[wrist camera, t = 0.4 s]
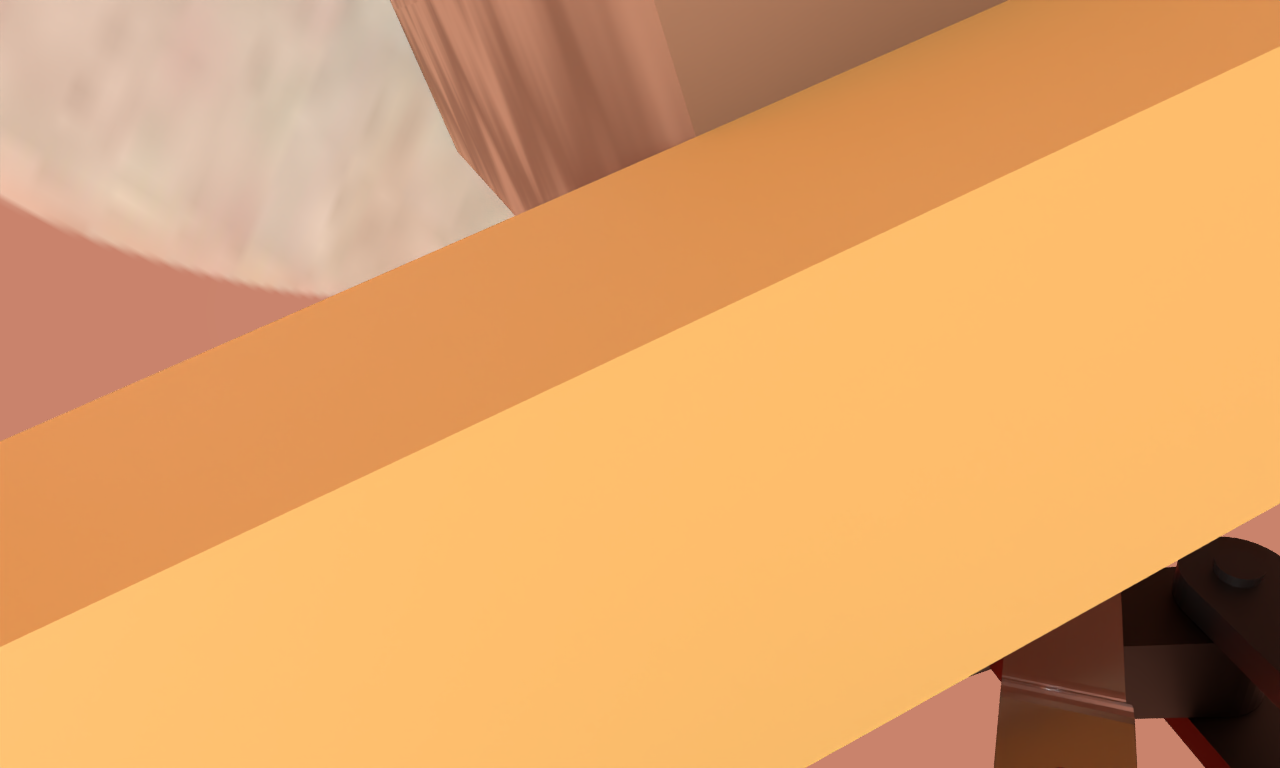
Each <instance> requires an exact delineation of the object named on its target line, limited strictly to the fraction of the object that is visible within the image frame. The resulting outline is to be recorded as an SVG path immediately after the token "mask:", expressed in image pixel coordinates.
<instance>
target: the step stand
mask: <svg viewBox="0 0 1280 768" xmlns="http://www.w3.org/2000/svg"><path fill="white" fill-rule="evenodd" d="M390 1H391V3H392V6H393V8H394V10H395V12H396V15H397V17H398V19H399V21H400V24H401V26H402V28H403V30H404V33H405V35H406V37H407V39H408V42H409V44H410V46H411V48H412V51H413V53H414V55H415V57H416V60H417V62H418V64H419V66H420V69H421V71H422V73H423V75H424V77H425V80H426V82H427V84H428V86H429V89H430V91H431V93H432V95H433V98H434V100H435V102H436V104H437V107H438V109H439V111H440V113H441V116H442V118H443V120H444V122H445V125H446V127H447V129H448V131H449V134H450V136H451V138H452V140H453V143H454V145H455V147H456V149H457V151H458V153H459V154H460V155H461V156H462V157H463V158H464V159H465V160H466V161H467V163H468V164H469V165H470V166H471V167H472V168H473V169H474V170H475V171H476V173H477V174H478V175H479V176H480V177H481V178H482V179H483V180H484V181H485V183H486V184H487V185H488V186H489V187H490V188H491V189H492V190H493V191H494V193H495V194H496V195H497V196H498V197H499V198H500V199H501V200H502V201H503V203H504V204H505V205H506V206H507V207H508V208H509V209H510V210H511V211H512V213H513V214H514V215H515V216H516V215H519V214H521V213H523V212H526V211H528V210H530V209H532V208H535V207H537V206H539V205H542V204H544V203H546V202H548V201H551V200H553V199H555V198H558V197H560V196H562V195H564V194H567V193H569V192H571V191H574V190H576V189H578V188H580V187H583V186H585V185H587V184H590V183H592V182H594V181H596V180H599V179H601V178H603V177H606V176H608V175H610V174H612V173H615V172H617V171H619V170H622V169H624V168H626V167H628V166H631V165H633V164H635V163H638V162H640V161H642V160H644V159H647V158H649V157H651V156H654V155H656V154H658V153H660V152H663V151H665V150H667V149H670V148H672V147H674V146H676V145H679V144H681V143H683V142H686V141H688V140H690V139H692V138H695V137H697V136H699V135H702V134H704V133H706V132H708V131H711V130H713V129H715V128H718V127H720V126H722V125H724V124H727V123H729V122H731V121H734V120H736V119H738V118H740V117H743V116H745V115H747V114H750V113H752V112H754V111H756V110H759V109H761V108H763V107H766V106H768V105H770V104H772V103H775V102H777V101H779V100H782V99H784V98H786V97H788V96H791V95H793V94H795V93H798V92H800V91H802V90H804V89H807V88H809V87H811V86H814V85H816V84H818V83H820V82H823V81H825V80H827V79H830V78H832V77H834V76H836V75H839V74H841V73H843V72H846V71H848V70H850V69H852V68H855V67H857V66H859V65H862V64H864V63H866V62H868V61H871V60H873V59H875V58H878V57H880V56H882V55H884V54H887V53H889V52H891V51H894V50H896V49H898V48H900V47H903V46H905V45H907V44H910V43H912V42H914V41H916V40H919V39H921V38H923V37H926V36H928V35H930V34H932V33H935V32H937V31H939V30H942V29H944V28H946V27H948V26H951V25H953V24H955V23H958V22H960V21H962V20H964V19H967V18H969V17H971V16H974V15H976V14H978V13H980V12H983V11H985V10H987V9H990V8H992V7H994V6H996V5H999V4H1001V3H1003V2H1006V1H1008V0H390Z"/></svg>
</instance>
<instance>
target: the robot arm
mask: <svg viewBox="0 0 1280 768" xmlns="http://www.w3.org/2000/svg"><path fill="white" fill-rule="evenodd" d="M989 669H991V670H992V671H993V672H994V673H995V675H996V676H997V677H998V679H999V680H1000V681H1001V692H1000V704H999V715H998V726H997V738H996V749H995V761H994V768H1137V756H1136V736H1135V719H1143V718H1144V719H1145V718H1164V719H1165V720H1166V721H1167V722H1168V724H1169V725H1170V726H1171V727H1172V729H1173V730H1174V731H1175V732H1176V733H1177V734H1178V736H1179V737H1180V738H1181V739H1182V740H1183V742H1184V743H1185V744H1186V745H1187V746H1188V747H1189V749H1190V750H1191V751H1192V752H1193V754H1194V755H1195V756H1196V757H1197V758H1198V759H1199V761H1200V762H1201V763H1202V764H1203V766H1204V767H1205V768H1280V556H1279V555H1278V554H1276V553H1274V552H1273V551H1271V550H1269V549H1267V548H1265V547H1263V546H1261V545H1258V544H1256V543H1253V542H1250V541H1247V540H1242V539H1238V538H1230V537H1218V538H1217V539H1215V540H1213V541H1211V542H1210V543H1208V544H1206V545H1204V546H1202V547H1201V548H1199V549H1197V550H1195V551H1193V552H1192V553H1190V554H1188V555H1186V556H1184V557H1183V558H1181V559H1179V560H1178V562H1177V566H1176V567H1165V568H1163V569H1161V570H1159V571H1157V572H1156V573H1154V574H1152V575H1150V576H1148V577H1147V578H1145V579H1143V580H1141V581H1140V582H1138V583H1136V584H1134V585H1132V586H1131V587H1129V588H1127V589H1125V590H1123V591H1122V592H1120V593H1118V594H1116V595H1114V596H1113V597H1111V598H1109V599H1107V600H1105V601H1104V602H1102V603H1100V604H1098V605H1096V606H1095V607H1093V608H1091V609H1089V610H1087V611H1086V612H1084V613H1082V614H1080V615H1079V616H1077V617H1075V618H1073V619H1071V620H1070V621H1068V622H1066V623H1064V624H1062V625H1061V626H1059V627H1057V628H1055V629H1053V630H1052V631H1050V632H1048V633H1046V634H1044V635H1043V636H1041V637H1039V638H1037V639H1035V640H1034V641H1032V642H1030V643H1028V644H1026V645H1025V646H1023V647H1021V648H1019V649H1018V650H1016V651H1014V652H1012V653H1010V654H1009V655H1007V656H1005V657H1003V658H1001V659H1000V660H998V661H996V662H994V663H992V664H991V665H989V666H987V667H985V668H983V669H982V670H980V671H978V672H976V673H974V674H973V675H975V674H978V673H981V672H984V671H987V670H989ZM971 676H972V675H971ZM969 677H970V676H969Z"/></svg>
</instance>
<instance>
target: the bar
mask: <svg viewBox="0 0 1280 768" xmlns="http://www.w3.org/2000/svg"><path fill="white" fill-rule="evenodd" d="M1279 503H1280V0H1008V1H1006V2H1003V3H1001V4H999V5H996V6H994V7H992V8H990V9H987V10H985V11H983V12H980V13H978V14H976V15H974V16H971V17H969V18H967V19H964V20H962V21H960V22H958V23H955V24H953V25H951V26H948V27H946V28H944V29H942V30H939V31H937V32H935V33H932V34H930V35H928V36H926V37H923V38H921V39H919V40H916V41H914V42H912V43H910V44H907V45H905V46H903V47H900V48H898V49H896V50H894V51H891V52H889V53H887V54H884V55H882V56H880V57H878V58H875V59H873V60H871V61H868V62H866V63H864V64H862V65H859V66H857V67H855V68H852V69H850V70H848V71H846V72H843V73H841V74H839V75H836V76H834V77H832V78H830V79H827V80H825V81H823V82H820V83H818V84H816V85H814V86H811V87H809V88H807V89H804V90H802V91H800V92H798V93H795V94H793V95H791V96H788V97H786V98H784V99H782V100H779V101H777V102H775V103H772V104H770V105H768V106H766V107H763V108H761V109H759V110H756V111H754V112H752V113H750V114H747V115H745V116H743V117H740V118H738V119H736V120H734V121H731V122H729V123H727V124H724V125H722V126H720V127H718V128H715V129H713V130H711V131H708V132H706V133H704V134H702V135H699V136H697V137H695V138H692V139H690V140H688V141H686V142H683V143H681V144H679V145H676V146H674V147H672V148H670V149H667V150H665V151H663V152H660V153H658V154H656V155H654V156H651V157H649V158H647V159H644V160H642V161H640V162H638V163H635V164H633V165H631V166H628V167H626V168H624V169H622V170H619V171H617V172H615V173H612V174H610V175H608V176H606V177H603V178H601V179H599V180H596V181H594V182H592V183H590V184H587V185H585V186H583V187H580V188H578V189H576V190H574V191H571V192H569V193H567V194H564V195H562V196H560V197H558V198H555V199H553V200H551V201H548V202H546V203H544V204H542V205H539V206H537V207H535V208H532V209H530V210H528V211H526V212H523V213H521V214H519V215H516V216H514V217H512V218H510V219H507V220H505V221H503V222H500V223H498V224H496V225H494V226H491V227H489V228H487V229H484V230H482V231H480V232H478V233H475V234H473V235H471V236H469V237H466V238H464V239H462V240H459V241H457V242H455V243H453V244H450V245H448V246H446V247H443V248H441V249H439V250H437V251H434V252H432V253H430V254H427V255H425V256H423V257H421V258H418V259H416V260H414V261H411V262H409V263H407V264H405V265H402V266H400V267H398V268H395V269H393V270H391V271H389V272H386V273H384V274H382V275H379V276H377V277H375V278H373V279H370V280H368V281H366V282H363V283H361V284H359V285H357V286H354V287H352V288H350V289H347V290H345V291H343V292H341V293H338V294H336V295H334V296H331V297H329V298H327V299H325V300H322V301H320V302H318V303H316V304H313V305H311V306H309V307H306V308H304V309H302V310H299V311H297V312H295V313H293V314H290V315H288V316H286V317H283V318H281V319H279V320H277V321H274V322H272V323H270V324H267V325H265V326H263V327H261V328H258V329H256V330H254V331H251V332H249V333H247V334H245V335H242V336H240V337H238V338H235V339H233V340H231V341H229V342H226V343H224V344H222V345H219V346H217V347H215V348H213V349H210V350H208V351H206V352H203V353H201V354H199V355H197V356H194V357H192V358H190V359H188V360H185V361H183V362H181V363H178V364H176V365H174V366H171V367H169V368H167V369H165V370H162V371H160V372H158V373H155V374H153V375H151V376H149V377H146V378H144V379H142V380H140V381H137V382H135V383H133V384H130V385H128V386H126V387H123V388H121V389H119V390H117V391H114V392H112V393H110V394H108V395H105V396H103V397H101V398H98V399H96V400H94V401H91V402H89V403H87V404H85V405H82V406H80V407H78V408H75V409H73V410H71V411H69V412H66V413H64V414H62V415H59V416H57V417H55V418H53V419H50V420H48V421H46V422H43V423H41V424H39V425H37V426H34V427H32V428H30V429H27V430H25V431H23V432H21V433H18V434H16V435H14V436H12V437H9V438H7V439H5V440H2V441H0V768H806V767H808V766H809V765H811V764H813V763H815V762H817V761H818V760H820V759H822V758H823V757H825V756H827V755H829V754H831V753H833V752H834V751H836V750H838V749H840V748H842V747H843V746H845V745H847V744H849V743H851V742H852V741H854V740H856V739H858V738H860V737H861V736H863V735H865V734H867V733H869V732H870V731H872V730H874V729H875V728H878V727H879V726H881V725H883V724H885V723H886V722H888V721H890V720H892V719H894V718H895V717H897V716H899V715H901V714H903V713H904V712H906V711H908V710H910V709H911V708H913V707H915V706H917V705H919V704H921V703H922V702H924V701H926V700H928V699H930V698H931V697H933V696H935V695H937V694H939V693H940V692H942V691H944V690H946V689H948V688H949V687H951V686H953V685H955V684H956V683H958V682H960V681H961V680H964V679H965V678H967V677H969V676H971V675H973V674H974V673H976V672H978V671H980V670H982V669H983V668H985V667H987V666H989V665H991V664H992V663H994V662H996V661H998V660H1000V659H1001V658H1003V657H1005V656H1007V655H1009V654H1010V653H1012V652H1014V651H1016V650H1018V649H1019V648H1021V647H1023V646H1025V645H1026V644H1028V643H1030V642H1032V641H1034V640H1035V639H1037V638H1039V637H1041V636H1043V635H1044V634H1046V633H1048V632H1050V631H1052V630H1053V629H1055V628H1057V627H1059V626H1061V625H1062V624H1064V623H1066V622H1068V621H1070V620H1071V619H1073V618H1075V617H1077V616H1079V615H1080V614H1082V613H1084V612H1086V611H1087V610H1089V609H1091V608H1093V607H1095V606H1096V605H1098V604H1100V603H1102V602H1104V601H1105V600H1107V599H1109V598H1111V597H1113V596H1114V595H1116V594H1118V593H1120V592H1122V591H1123V590H1125V589H1127V588H1129V587H1131V586H1132V585H1134V584H1136V583H1138V582H1140V581H1141V580H1143V579H1145V578H1147V577H1148V576H1150V575H1152V574H1154V573H1156V572H1157V571H1159V570H1161V569H1163V568H1165V567H1166V566H1168V565H1170V564H1172V563H1174V562H1175V561H1177V560H1179V559H1181V558H1183V557H1184V556H1186V555H1188V554H1190V553H1192V552H1193V551H1195V550H1197V549H1199V548H1201V547H1202V546H1204V545H1206V544H1208V543H1210V542H1211V541H1213V540H1215V539H1217V538H1218V537H1220V536H1222V535H1224V534H1226V533H1227V532H1229V531H1231V530H1233V529H1234V528H1236V527H1238V526H1240V525H1242V524H1244V523H1245V522H1247V521H1249V520H1251V519H1253V518H1254V517H1256V516H1258V515H1260V514H1262V513H1263V512H1265V511H1267V510H1269V509H1270V508H1272V507H1274V506H1276V505H1278V504H1279Z"/></svg>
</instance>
